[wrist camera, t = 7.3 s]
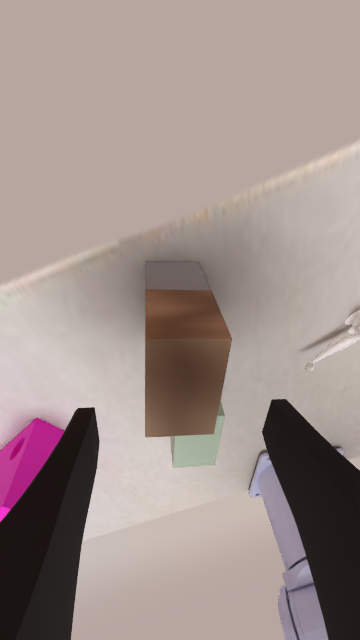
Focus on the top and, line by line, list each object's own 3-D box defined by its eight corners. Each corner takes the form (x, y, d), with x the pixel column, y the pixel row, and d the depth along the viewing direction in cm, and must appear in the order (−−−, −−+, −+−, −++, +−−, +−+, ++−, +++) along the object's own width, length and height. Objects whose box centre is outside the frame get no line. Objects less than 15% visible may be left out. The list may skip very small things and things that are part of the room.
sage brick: (212, 373, 25) (224, 415, 21) (205, 421, 28) (215, 465, 25) (171, 374, 25) (176, 417, 21) (169, 422, 28) (173, 467, 24)
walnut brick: (211, 290, 16) (231, 338, 12) (200, 374, 19) (213, 434, 15) (145, 289, 15) (145, 339, 12) (145, 375, 19) (145, 437, 15)
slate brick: (198, 261, 20) (211, 291, 16) (191, 335, 23) (201, 375, 19) (145, 260, 19) (145, 291, 16) (146, 336, 22) (146, 377, 19)
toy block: (10, 510, 33) (-22, 598, 27) (-47, 492, 30) (-97, 586, 24) (95, 444, 29) (81, 531, 22) (37, 415, 26) (2, 506, 20)
